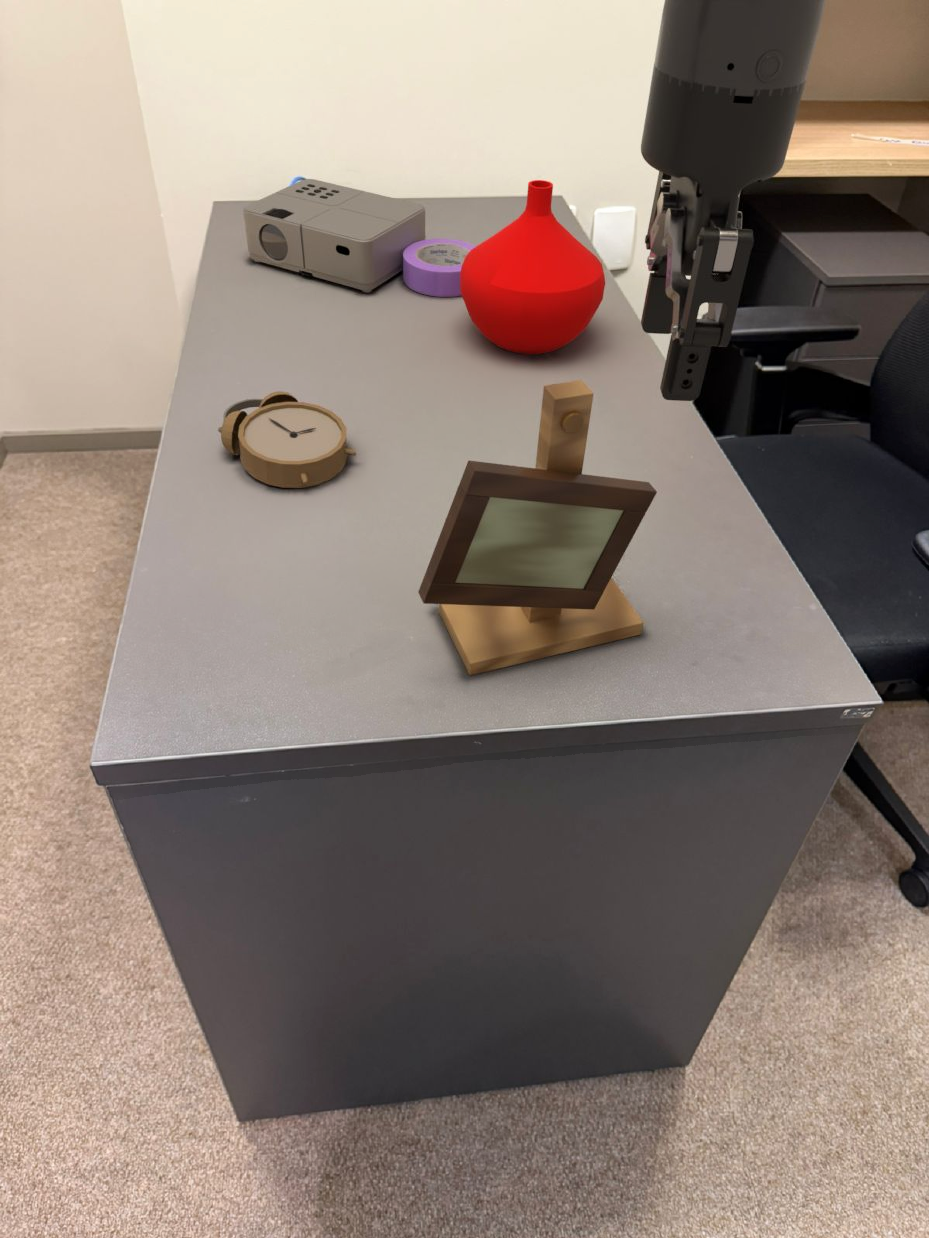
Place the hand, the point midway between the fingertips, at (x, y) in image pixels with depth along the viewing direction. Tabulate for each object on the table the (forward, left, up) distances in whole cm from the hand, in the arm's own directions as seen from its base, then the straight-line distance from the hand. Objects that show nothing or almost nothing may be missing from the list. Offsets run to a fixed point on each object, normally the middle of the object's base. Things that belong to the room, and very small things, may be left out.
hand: (667, 362), depth 56 cm
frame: (-7, +5, -22) cm, 24 cm away
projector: (-1, +89, -28) cm, 93 cm away
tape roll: (+12, +78, -28) cm, 84 cm away
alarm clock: (-19, +40, -28) cm, 52 cm away
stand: (-3, +7, -28) cm, 29 cm away
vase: (+17, +58, -28) cm, 67 cm away
